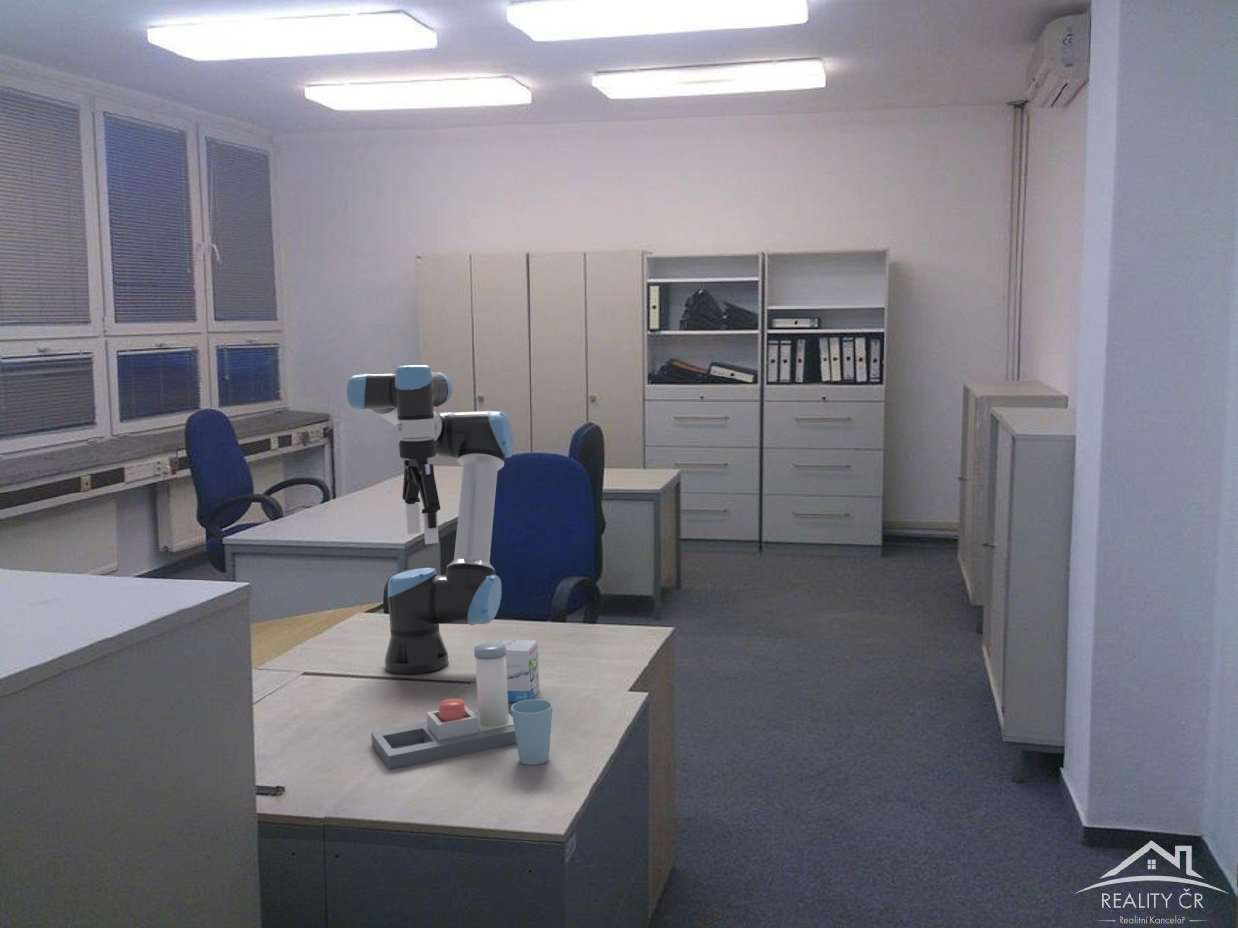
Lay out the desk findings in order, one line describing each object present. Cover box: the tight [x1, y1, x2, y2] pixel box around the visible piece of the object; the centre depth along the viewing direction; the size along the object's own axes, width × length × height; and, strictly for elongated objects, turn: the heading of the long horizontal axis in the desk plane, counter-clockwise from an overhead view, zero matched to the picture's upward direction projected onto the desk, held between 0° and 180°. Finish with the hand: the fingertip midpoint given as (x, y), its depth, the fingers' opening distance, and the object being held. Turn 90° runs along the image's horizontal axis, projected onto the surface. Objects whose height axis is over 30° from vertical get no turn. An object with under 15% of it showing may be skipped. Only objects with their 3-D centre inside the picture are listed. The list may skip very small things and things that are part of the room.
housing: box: [370, 705, 517, 770], centre depth 216 cm, size 14×27×6 cm, turn 116°
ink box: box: [498, 639, 540, 703], centre depth 242 cm, size 9×8×12 cm
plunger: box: [438, 698, 465, 722], centre depth 216 cm, size 5×5×5 cm
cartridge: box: [473, 642, 510, 726], centre depth 219 cm, size 6×6×15 cm
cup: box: [510, 698, 553, 766], centre depth 206 cm, size 8×8×10 cm
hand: (422, 538), depth 234 cm, fingers open, 13 cm apart
